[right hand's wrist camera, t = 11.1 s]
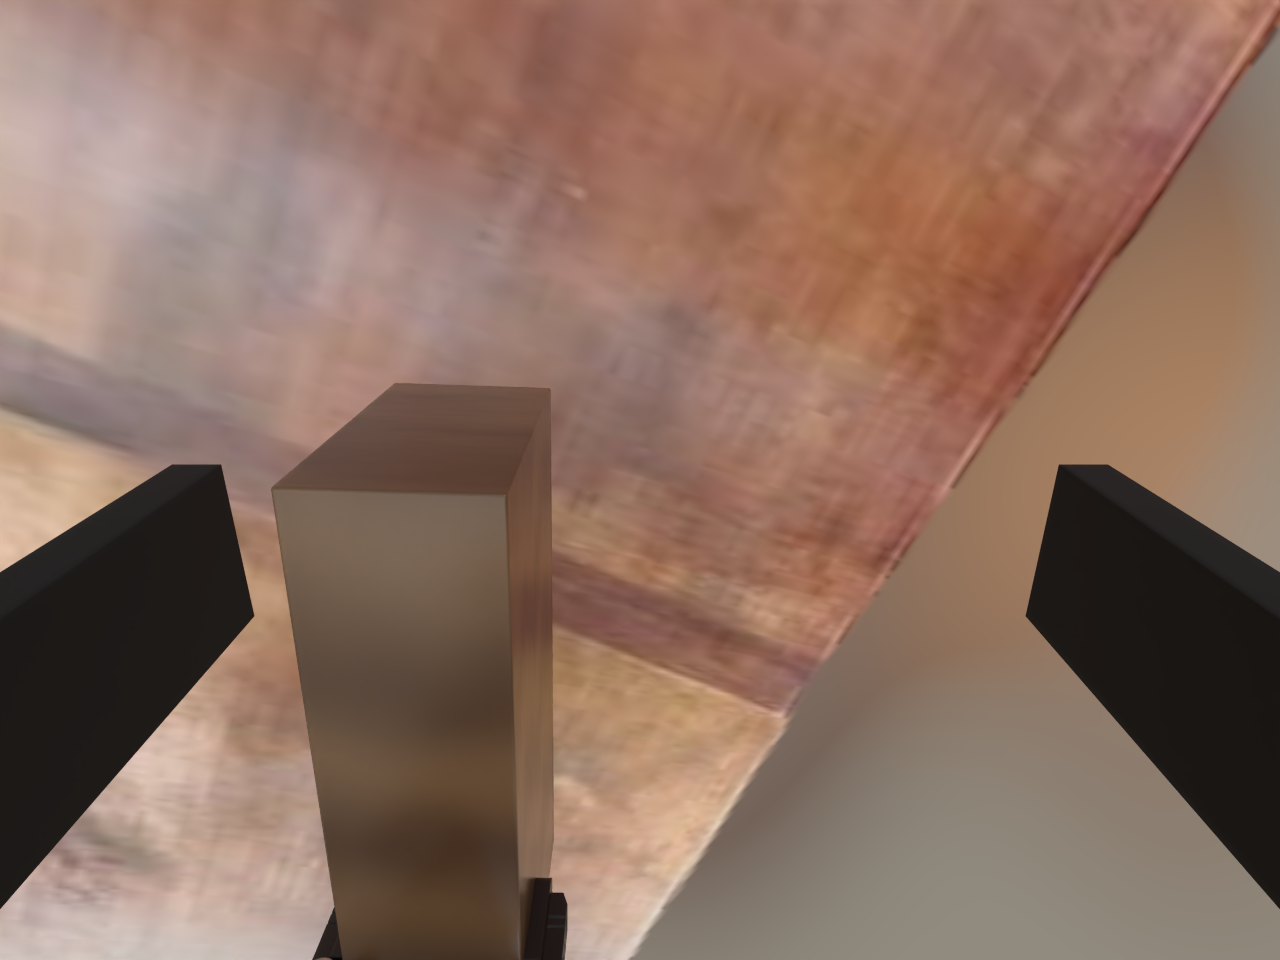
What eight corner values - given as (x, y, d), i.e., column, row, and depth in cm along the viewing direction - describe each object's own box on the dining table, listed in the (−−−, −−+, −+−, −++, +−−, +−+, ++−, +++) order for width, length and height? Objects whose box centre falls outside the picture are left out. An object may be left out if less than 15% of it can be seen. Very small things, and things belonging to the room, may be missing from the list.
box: (394, 382, 30) (269, 487, 20) (550, 387, 30) (507, 494, 20) (432, 836, 38) (359, 1072, 28) (553, 838, 38) (524, 1075, 28)
